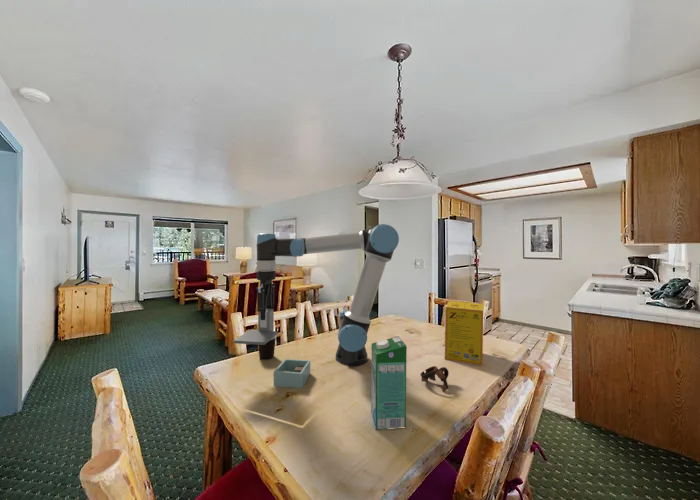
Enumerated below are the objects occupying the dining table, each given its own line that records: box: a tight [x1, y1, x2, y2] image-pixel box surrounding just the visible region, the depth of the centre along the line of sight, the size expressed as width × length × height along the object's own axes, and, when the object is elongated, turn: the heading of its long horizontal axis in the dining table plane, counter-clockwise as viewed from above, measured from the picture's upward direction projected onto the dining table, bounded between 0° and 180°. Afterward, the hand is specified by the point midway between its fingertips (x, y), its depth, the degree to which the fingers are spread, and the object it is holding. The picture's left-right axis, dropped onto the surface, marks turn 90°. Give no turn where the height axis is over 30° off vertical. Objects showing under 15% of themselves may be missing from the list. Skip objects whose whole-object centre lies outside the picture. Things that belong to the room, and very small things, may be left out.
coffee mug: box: [257, 335, 277, 361], centre depth 137 cm, size 12×9×10 cm
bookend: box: [233, 308, 279, 346], centre depth 114 cm, size 12×17×9 cm
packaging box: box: [444, 300, 484, 366], centre depth 139 cm, size 16×16×25 cm
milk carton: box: [370, 335, 408, 430], centre depth 88 cm, size 9×9×25 cm
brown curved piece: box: [420, 365, 450, 393], centre depth 111 cm, size 12×10×8 cm
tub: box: [273, 358, 311, 389], centre depth 113 cm, size 11×12×6 cm
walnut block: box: [295, 366, 304, 373], centre depth 116 cm, size 4×4×4 cm
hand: (266, 325), depth 120 cm, fingers closed on bookend, 4 cm apart
